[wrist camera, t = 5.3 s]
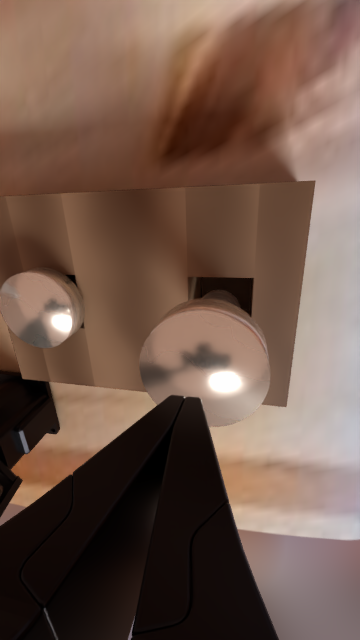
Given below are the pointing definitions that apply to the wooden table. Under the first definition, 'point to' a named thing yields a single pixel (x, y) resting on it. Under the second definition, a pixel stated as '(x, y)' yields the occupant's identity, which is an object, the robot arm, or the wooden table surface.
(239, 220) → the block
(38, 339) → the far plunger
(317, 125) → the wooden table surface
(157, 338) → the near plunger
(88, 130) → the wooden table surface
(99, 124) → the wooden table surface
